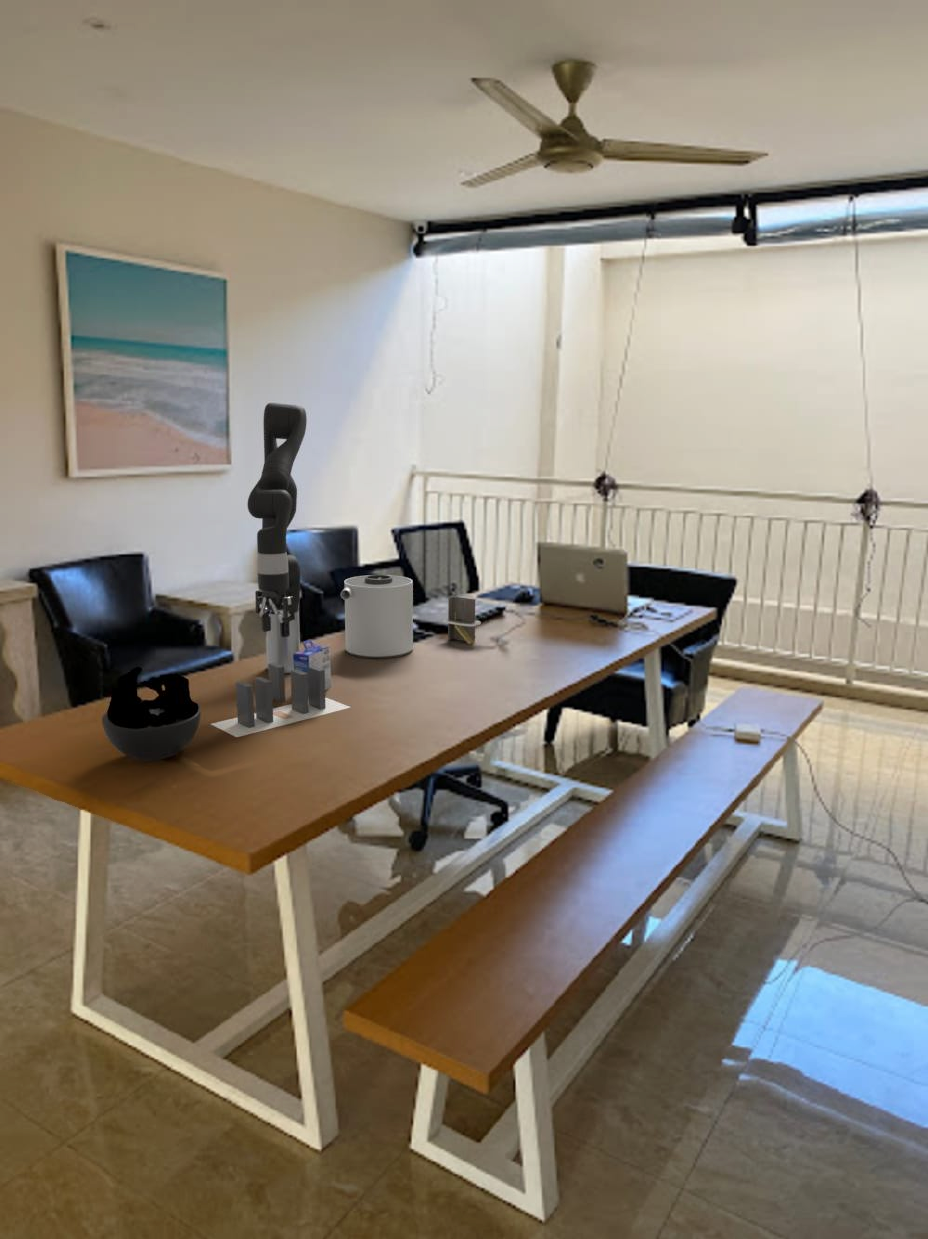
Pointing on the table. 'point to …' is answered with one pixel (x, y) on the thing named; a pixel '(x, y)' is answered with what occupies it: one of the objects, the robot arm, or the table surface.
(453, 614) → the architectural model
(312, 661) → the ink cartridge box
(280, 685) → the domino
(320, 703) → the domino
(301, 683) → the domino
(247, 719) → the domino
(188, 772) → the table surface
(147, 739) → the coal bowl
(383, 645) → the humidifier
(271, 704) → the domino
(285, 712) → the board
